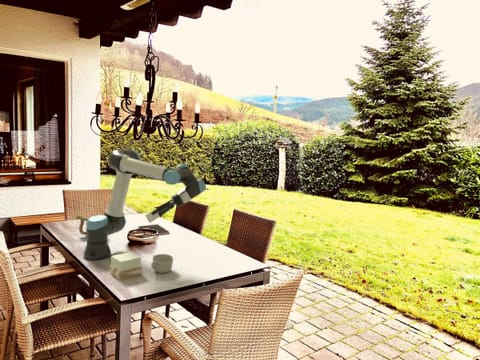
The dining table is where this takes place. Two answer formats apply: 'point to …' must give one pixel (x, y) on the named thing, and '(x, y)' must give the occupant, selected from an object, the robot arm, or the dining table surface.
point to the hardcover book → (156, 228)
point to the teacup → (162, 263)
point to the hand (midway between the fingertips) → (147, 219)
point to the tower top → (125, 261)
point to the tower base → (125, 273)
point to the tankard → (82, 225)
